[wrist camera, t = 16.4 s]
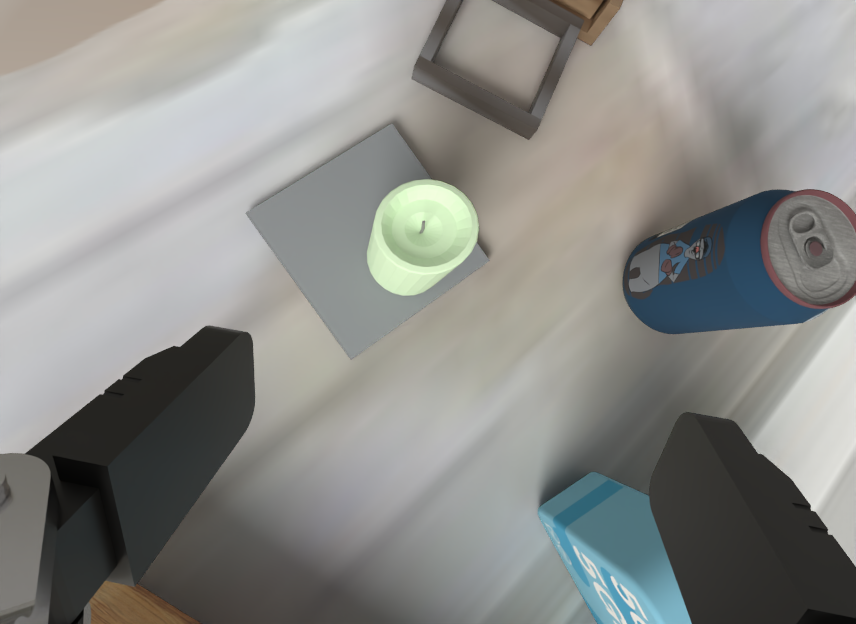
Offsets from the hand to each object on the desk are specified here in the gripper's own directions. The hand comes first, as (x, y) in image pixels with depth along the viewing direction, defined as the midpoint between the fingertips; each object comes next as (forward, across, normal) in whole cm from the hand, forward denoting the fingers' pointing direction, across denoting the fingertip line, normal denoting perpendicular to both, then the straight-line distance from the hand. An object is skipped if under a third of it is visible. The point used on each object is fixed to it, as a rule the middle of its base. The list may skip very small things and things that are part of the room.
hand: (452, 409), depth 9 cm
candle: (+22, +4, +5) cm, 23 cm away
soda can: (+26, -14, +6) cm, 30 cm away
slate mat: (+22, +6, +5) cm, 23 cm away
